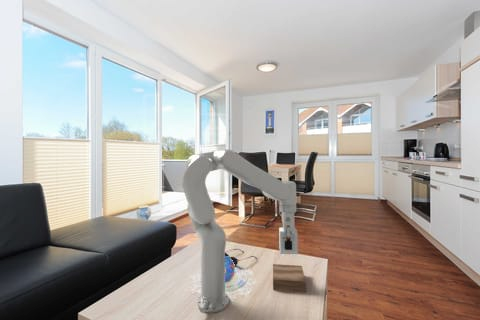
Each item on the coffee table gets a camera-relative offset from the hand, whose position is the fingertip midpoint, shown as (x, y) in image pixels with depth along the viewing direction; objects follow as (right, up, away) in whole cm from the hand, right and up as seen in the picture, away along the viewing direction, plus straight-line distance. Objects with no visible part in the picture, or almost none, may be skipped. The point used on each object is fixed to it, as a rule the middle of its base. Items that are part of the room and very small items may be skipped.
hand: (288, 246), depth 105 cm
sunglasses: (-22, -17, +24) cm, 37 cm away
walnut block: (0, -17, 0) cm, 17 cm away
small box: (0, -3, 0) cm, 3 cm away
